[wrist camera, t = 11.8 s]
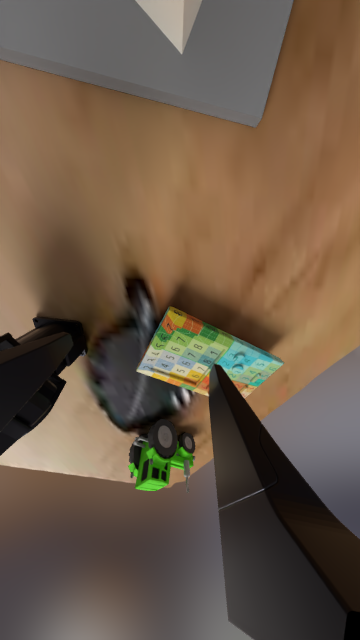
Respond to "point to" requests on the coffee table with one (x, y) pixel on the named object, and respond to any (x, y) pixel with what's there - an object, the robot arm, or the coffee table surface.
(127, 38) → the mat
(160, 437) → the toy tractor
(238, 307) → the coffee table surface
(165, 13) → the card box
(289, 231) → the coffee table surface
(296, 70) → the coffee table surface
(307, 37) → the coffee table surface
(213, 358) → the puzzle game
